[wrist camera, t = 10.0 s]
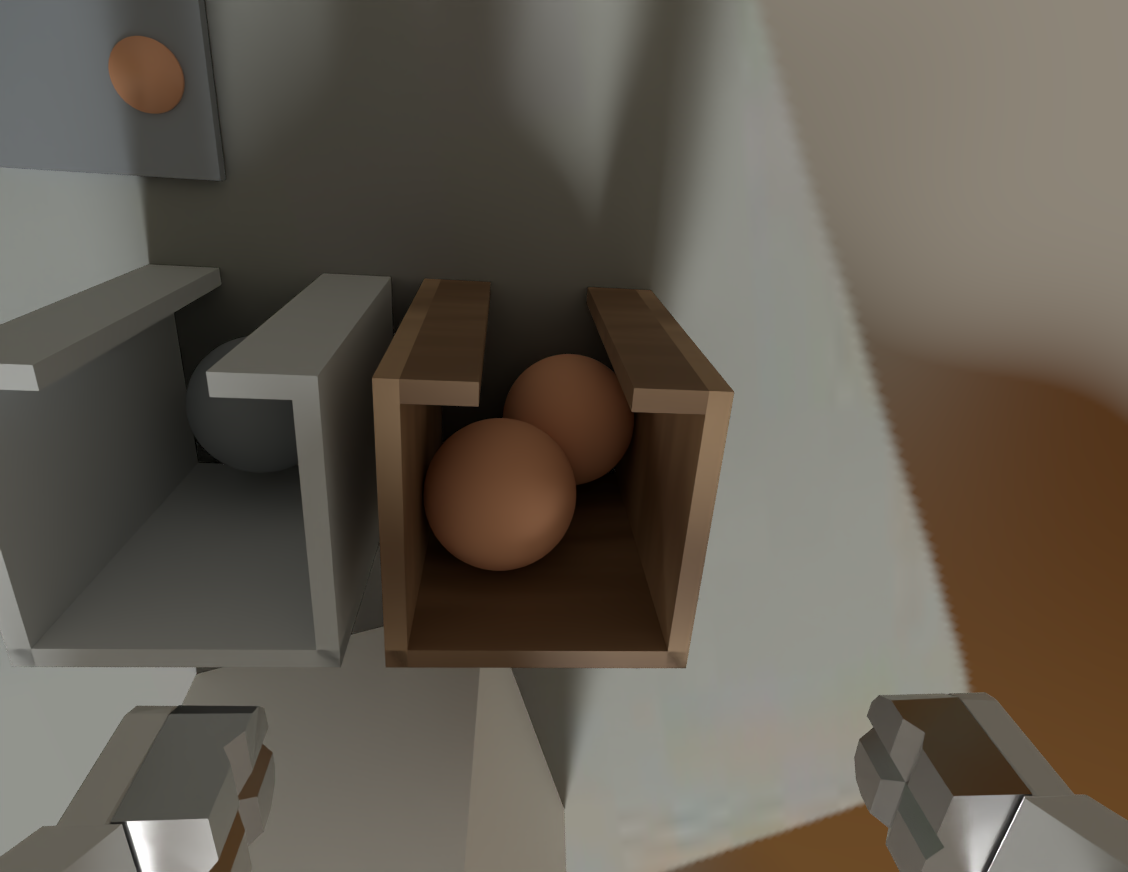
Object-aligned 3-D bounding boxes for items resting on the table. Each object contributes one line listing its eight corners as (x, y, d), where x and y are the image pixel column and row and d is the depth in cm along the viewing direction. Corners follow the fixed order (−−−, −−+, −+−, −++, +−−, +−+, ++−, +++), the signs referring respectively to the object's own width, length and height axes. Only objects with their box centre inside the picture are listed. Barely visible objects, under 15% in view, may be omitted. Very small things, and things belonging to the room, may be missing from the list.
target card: (-92, -208, 16) (-112, -219, 16) (182, -179, 17) (172, -188, 16) (-1, 165, 19) (-15, 166, 19) (226, 179, 20) (218, 181, 19)
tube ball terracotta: (481, 344, 21) (551, 399, 18) (591, 327, 23) (670, 374, 20) (478, 459, 23) (541, 525, 20) (580, 434, 25) (651, 491, 22)
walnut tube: (424, 278, 21) (372, 378, 13) (651, 290, 22) (734, 391, 14) (427, 482, 24) (385, 667, 16) (627, 487, 25) (685, 668, 17)
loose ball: (568, 382, 19) (417, 392, 19) (585, 489, 16) (406, 502, 16) (568, 487, 22) (436, 496, 21) (583, 595, 19) (430, 608, 18)
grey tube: (148, 264, 21) (-87, 360, 13) (391, 276, 21) (317, 375, 13) (184, 475, 24) (12, 667, 15) (397, 481, 24) (340, 667, 16)
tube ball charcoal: (208, 316, 21) (147, 357, 18) (343, 322, 22) (310, 363, 18) (225, 436, 23) (172, 496, 19) (350, 440, 23) (321, 499, 20)
